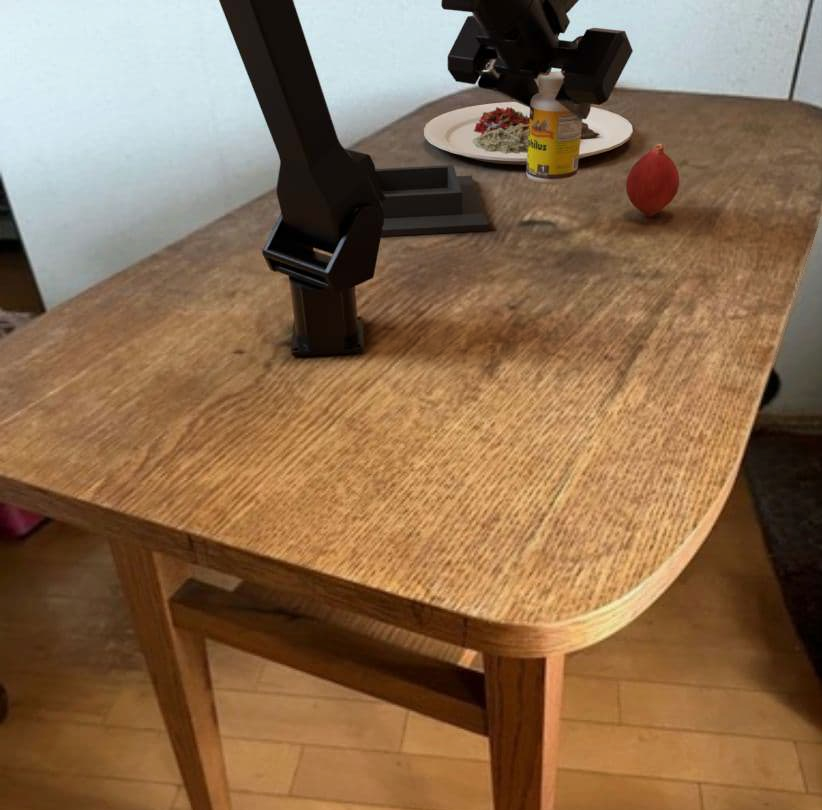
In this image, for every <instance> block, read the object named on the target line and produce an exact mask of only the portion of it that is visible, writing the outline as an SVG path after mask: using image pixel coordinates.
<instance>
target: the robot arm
mask: <svg viewBox="0 0 822 810" xmlns="http://www.w3.org/2000/svg"><path fill="white" fill-rule="evenodd" d="M218 1H219V4H220V6H221V10H222V12H223V15H224V18H225V20H226V22H227V25H228V28H229V30H230V33H231V35H232V39H233V40H234V43H235V46H236V49H237V50H238V51H237V52H238V54H239V56H240V59H241V61H242V64H243V66H244V69H245V71H246V74H247V77H248V79H249V82H250V84H251V87H252V90H253V92H254V95H255V98H256V100H257V103H258V105H259V108H260V110H261V113H262V116H263V119H264V120H265V123H266V126H267V129H268V131H269V134H270V137H271V139H272V141H273V144H274V146H275V149H276V151H277V154H278V158H279V167H278V174H277V181H276V187H275V188H276V189H275V192H276V196H277V201H278V205H279V209H280V214H279V216H278V217H277V220H276V222H275V224H274V226H273V228H272V230H271V232H270V234H269V236H268V238H267V240H266V241H265V244H264V246H263V248H262V251H261V252H262V256H263V259H264V260H265V262H266V264H267V266H268V269H269V270H270V271H271V272H274V273H280V274H282V275H285V276H287V277H288V280H289V288H290V289H289V290H290V298H291V304H292V311H293V313H292V314H293V320H294V321H293V324H292V333H291V341H290V355H291V356H292V357H308V356H309V357H310V356H324V355H327V356H328V355H343V354H344V355H345V354H358V353H362V352H364V350H365V344H364V343H365V341H364V339H365V338H364V319H363V318H364V317H362V316H359V315H358V303H357V292H356V287H357V286H359V285H361V284H363V283H365V282H368V281H370V280H372V279H373V278H374V276H375V272H376V266H377V261H378V255H379V249H380V244H381V238H382V237H381V233H382V227H383V225H384V214H383V208H382V205H381V202H380V201H385V199H386V197H385V195H384V194H383V193H382V192H381V190H380V187H379V185H378V182H377V177H376V170H375V169H376V165H375V163H374V161H373V158H372V157H371V155H370V154H368V153H364V152H360V151H356V150H351V149H348V148H345V147H344V146H343V145H342V143H341V142H340V139H339V137H338V135H337V131H336V129H335V125H334V122H333V119H332V116H331V113H330V110H329V107H328V103H327V100H326V98H325V95H324V91H323V88H322V85H321V82H320V78H319V76H318V73H317V69H316V67H315V63H314V60H313V57H312V53H311V50H310V47H309V45H308V41H307V39H306V35H305V33H304V30H303V26H302V23H301V20H300V17H299V13H298V11H297V7H296V5H295V1H294V0H218ZM579 1H580V0H441V2H440V3H441V4H440V5H441V8H442V9H443V10H444V11H445V10H447V11H457V12H465V13H471V14H472V15H468V16H467V17H466V19H465V21H464V23H463V25H462V26H461V28H460V30H459V32H458V35H457V37H456V39H455V41H454V42H453V45H452V47H451V49H450V50H449V53H448V55H447V57H446V61H447V63H446V66H447V70H448V73H450V75H451V77H452V78H453V80H454V81H455V82H457V83H464V84H469V85H476V84H477V86H478V87H479V89H481V90H485V91H488V92H491V93H494V94H495V95H498V96H501V97H504V98H506V99H509V100H510V101H513V102H518V103H520V104H522V105H524V106H527V107H529V108H530V102H531V99H532V97H533V96H534V95H535V94H537V93H540V92H539V88H538V85H537V83H536V81H535V79H537V78H538V76H539V75H545V76H547V75H548V74H549V73H550V71H551V72H552V69H556V70H557V69H558V70H560V71H561V73H562V75H563V76H564V78H563V81H564V82H563V84H562V86H561V88H560V90H559V91H558V93H557V95H556V97H555V100H556V101H557V102H558V103H560V104H561V105H563V106H564V107H566V108H567V109H568V110H570V111H571V112H572V113H574V114H575V115H577V116H578V117H580V118H582V119H587V117H588V115H589V113H590V109H591V107H592V105H595V106H596V105H597V106H601V105H603V104H604V103H605V102H607V101H609V99H610V97H611V94H612V93H613V91H614V89H615V87H616V85H617V83H618V81H619V79H620V77H621V75H622V73H623V71H624V69H625V67H626V65H627V64H628V61H629V60H630V58H631V56H632V54H633V52H634V49H633V47H632V45H631V42H630V40H629V37H628V35H627V33H626V30H619V29H610V28H601V27H591V28H587V29H585V32H584V34H583V35H578V36H577V37H576V38H574V39H573V40H564V39H563V40H562V39H560V38H559V36H560V35H561V34H565V33H566V31H567V29H568V28H569V25H570V23H571V20H570V18H569V16H568V13H569V12H570V11H571V10H572V9H573V8H574V6H575V5H577V3H578V2H579ZM314 249H316V250H319V251H322V252H325V253H328V254H331V255H332V256H331V255H328V254H325V253H322V252H319V251H316V250H314Z"/></svg>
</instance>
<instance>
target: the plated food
mask: <svg viewBox="0 0 822 810" xmlns="http://www.w3.org/2000/svg"><path fill="white" fill-rule="evenodd" d="M529 118H530V108H529V107H527V106H524V105H522V104H520V103H518V102H515V101H506V102H505V101H504V102H503V101H502V102H495V103H486V104H479V105H472V106H467V107H462V108H458V109H453V110H451V111H448V112H444V113H442V114H440V115H438V116H436V117H434V118H432V119H431V120H430V121H428V122H427V123H426V124H425V126H424V128H423V134H424V139H426V141H428V142H429V144H431V145H433V146H434V147H435V148H438V149H440V150H443V151H446V152H449V153H452V154H456V155H459V156H463V157H466V158H468V159H471V160H476V161H481V162H487V163H492V164H501V165H516V166H517V165H518V166H519V165H520V166H521V165H522V166H527V152H528V135H529ZM632 135H633V125H632V124H631V123H630V121H629V120H628V119H626V118H625V117H623V116H621V115H619V114H618V113H614V112H611V111H609V110H607V109H602V108H598V107H594V106H591V109H590V113H589V115H588V117H587V119H582V128H581V139H580V149H579V160H581V159H584V158H589V157H590V156H594V155H598V154H601V153H605V152H608V151H611V150H613V149H615V148H618V147H620V146H622V145H623V144H625V143H626V142H628V141H629V140H630V139H631V137H632Z"/></svg>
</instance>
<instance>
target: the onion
mask: <svg viewBox="0 0 822 810" xmlns="http://www.w3.org/2000/svg"><path fill="white" fill-rule="evenodd" d="M679 187H680V174H679V171H678V168H677V165H676V164H675V162H674V161H673V160H672V158H671V157H670V156H669V155H667V154H666V153H665V148H664V143H658V144H656V145H655V146H654V147H653V148H651V150H649V151H648V152H646V153H644V154H643V156H641V157H639V158H638V160H637V161H636V162H635V164H634V165H633V166H632V167H631V169H630V170H629V172H628V175H627V177H626V181H625V191H626V194H627V197H628V199H629V201H630V203H631V204H632V206H634V207H635V208H636V209H637V210H638V211H639V212H641V213H642V214H643V215H644V216H645V217H647V218H648V217H649V218H651V217H653V216H655V215H656V214H657V213H658V212H660V211H662V210H663V209H665V208H666V207H667V206H668V205H669V204H670V203H672V201H673V200H674V198H675V197H676V195H677V194H678V190H679Z"/></svg>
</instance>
